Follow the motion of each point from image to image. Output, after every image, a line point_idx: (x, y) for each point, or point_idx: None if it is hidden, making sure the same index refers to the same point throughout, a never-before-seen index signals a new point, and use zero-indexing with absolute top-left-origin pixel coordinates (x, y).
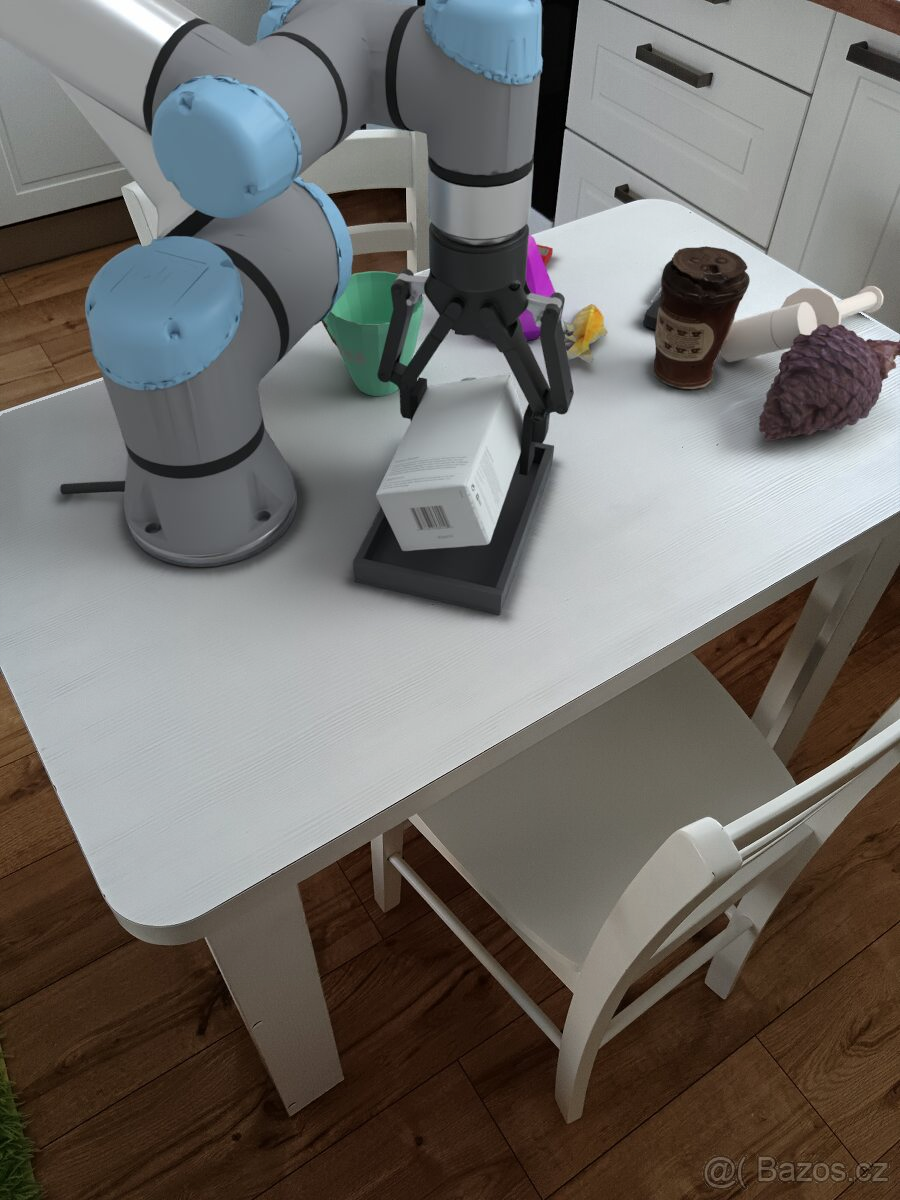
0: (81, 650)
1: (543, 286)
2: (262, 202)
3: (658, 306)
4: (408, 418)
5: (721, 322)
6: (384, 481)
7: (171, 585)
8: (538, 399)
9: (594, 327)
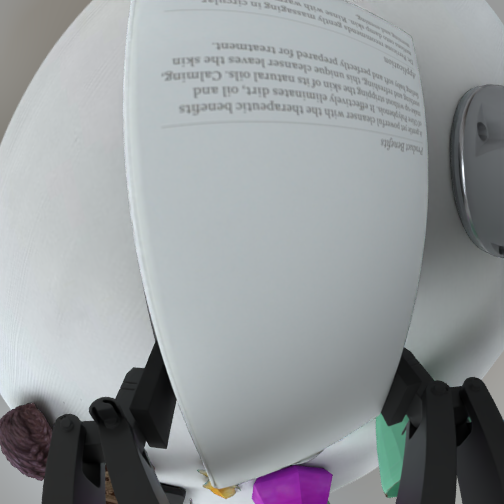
0: (482, 16)
1: None
2: None
3: (178, 499)
4: None
5: None
6: (416, 73)
7: (483, 68)
8: (108, 447)
9: (214, 489)
